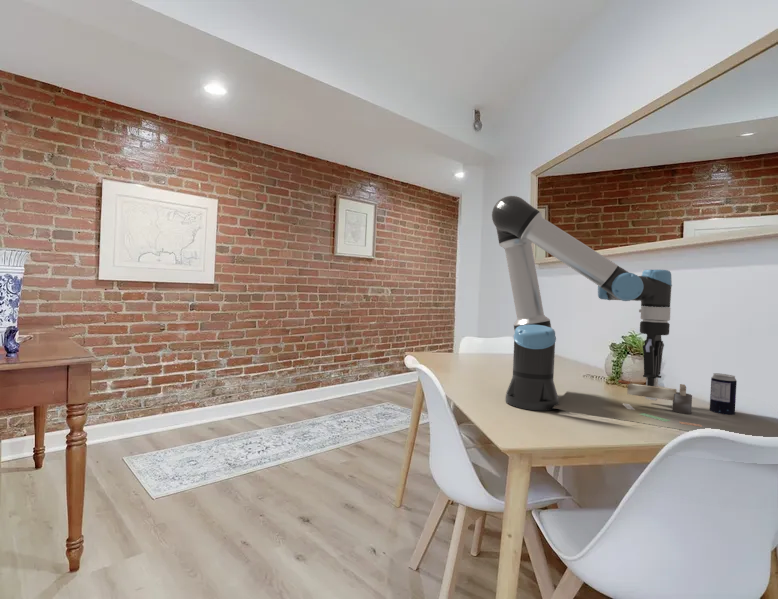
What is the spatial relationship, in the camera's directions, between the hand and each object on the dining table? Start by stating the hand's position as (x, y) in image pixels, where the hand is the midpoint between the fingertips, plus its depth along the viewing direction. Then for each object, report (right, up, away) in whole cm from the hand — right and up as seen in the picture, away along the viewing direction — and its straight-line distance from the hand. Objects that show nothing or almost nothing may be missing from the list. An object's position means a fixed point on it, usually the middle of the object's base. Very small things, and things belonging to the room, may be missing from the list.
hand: (651, 399), depth 127 cm
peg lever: (-2, -1, -5) cm, 5 cm away
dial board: (-5, -3, -10) cm, 12 cm away
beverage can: (+16, -4, -7) cm, 18 cm away
